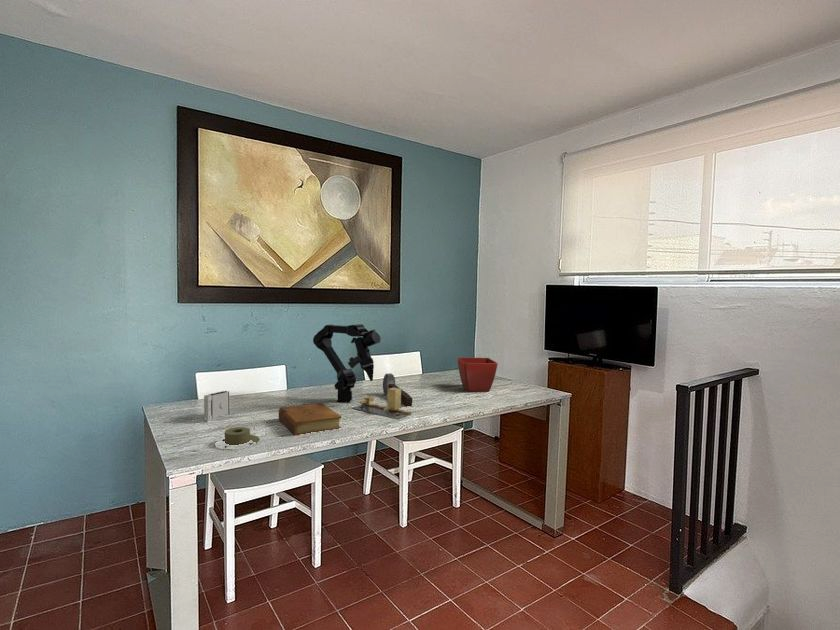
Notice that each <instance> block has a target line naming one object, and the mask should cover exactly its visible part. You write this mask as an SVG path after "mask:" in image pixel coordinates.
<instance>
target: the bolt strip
mask: <svg viewBox="0 0 840 630" xmlns="http://www.w3.org/2000/svg"><path fill="white" fill-rule="evenodd" d="M355 409H356V411H361V412H364V411H365V413H369V414H374V415H377V416H378V415H379V416H383V417H388V418H392V419H396V420H400V419H403V418H406V417H409V415H408V414H403V413H399V412H394V411H389V410H388V412H387V410H383V409H380V408H375V407H371V406H366V405H363V407H361V404H360V405H357V406H354V407H352V410H355Z"/></svg>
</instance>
